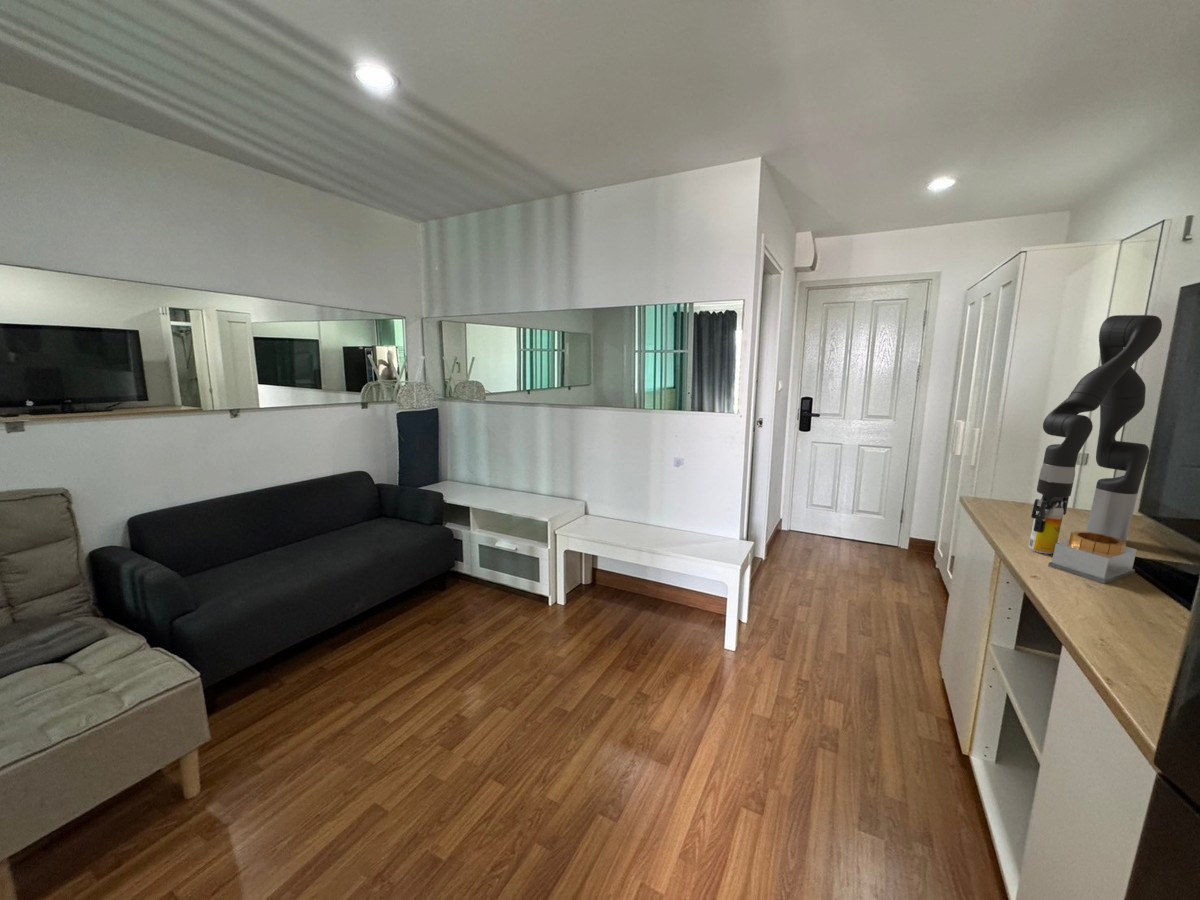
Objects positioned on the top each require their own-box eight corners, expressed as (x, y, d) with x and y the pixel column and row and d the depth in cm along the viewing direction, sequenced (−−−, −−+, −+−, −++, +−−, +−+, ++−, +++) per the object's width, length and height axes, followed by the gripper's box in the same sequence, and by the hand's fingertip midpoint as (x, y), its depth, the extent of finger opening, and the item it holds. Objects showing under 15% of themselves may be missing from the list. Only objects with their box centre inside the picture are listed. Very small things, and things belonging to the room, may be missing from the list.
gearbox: (1084, 554, 142) (1090, 525, 140) (1139, 570, 131) (1147, 539, 129) (1048, 566, 134) (1054, 535, 132) (1104, 583, 123) (1112, 550, 121)
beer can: (1060, 556, 141) (1070, 509, 138) (1036, 554, 142) (1046, 507, 139) (1045, 548, 147) (1054, 503, 144) (1023, 546, 148) (1032, 501, 145)
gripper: (1052, 474, 146) (1042, 523, 149) (1027, 478, 140) (1018, 529, 143) (1084, 480, 139) (1073, 530, 142) (1059, 484, 134) (1048, 537, 137)
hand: (1045, 529), depth 143 cm, fingers open, 8 cm apart
